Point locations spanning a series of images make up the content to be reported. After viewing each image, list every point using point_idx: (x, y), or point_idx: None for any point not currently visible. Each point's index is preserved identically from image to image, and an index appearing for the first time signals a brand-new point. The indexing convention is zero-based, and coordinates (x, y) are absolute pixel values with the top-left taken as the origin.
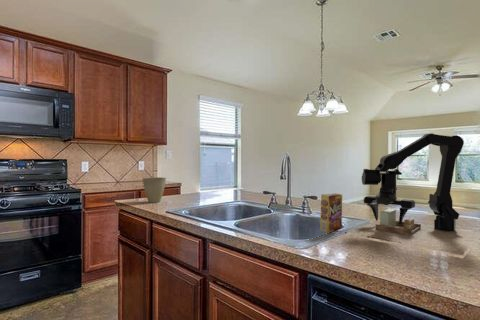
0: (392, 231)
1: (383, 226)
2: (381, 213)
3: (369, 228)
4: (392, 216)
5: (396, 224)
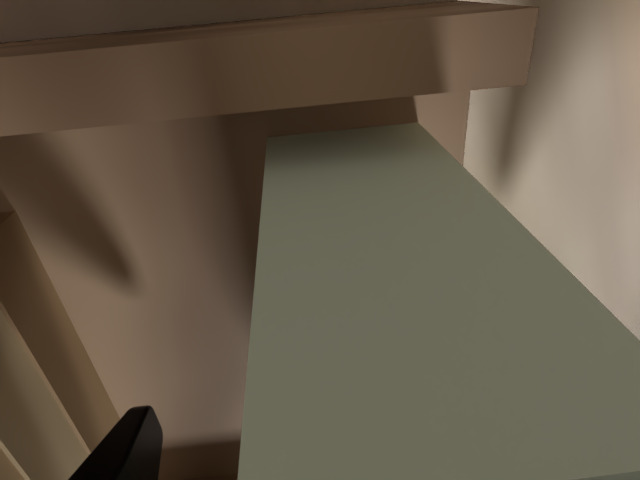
0: (101, 37)
1: (311, 26)
2: (600, 386)
3: (600, 158)
4: None
5: None
